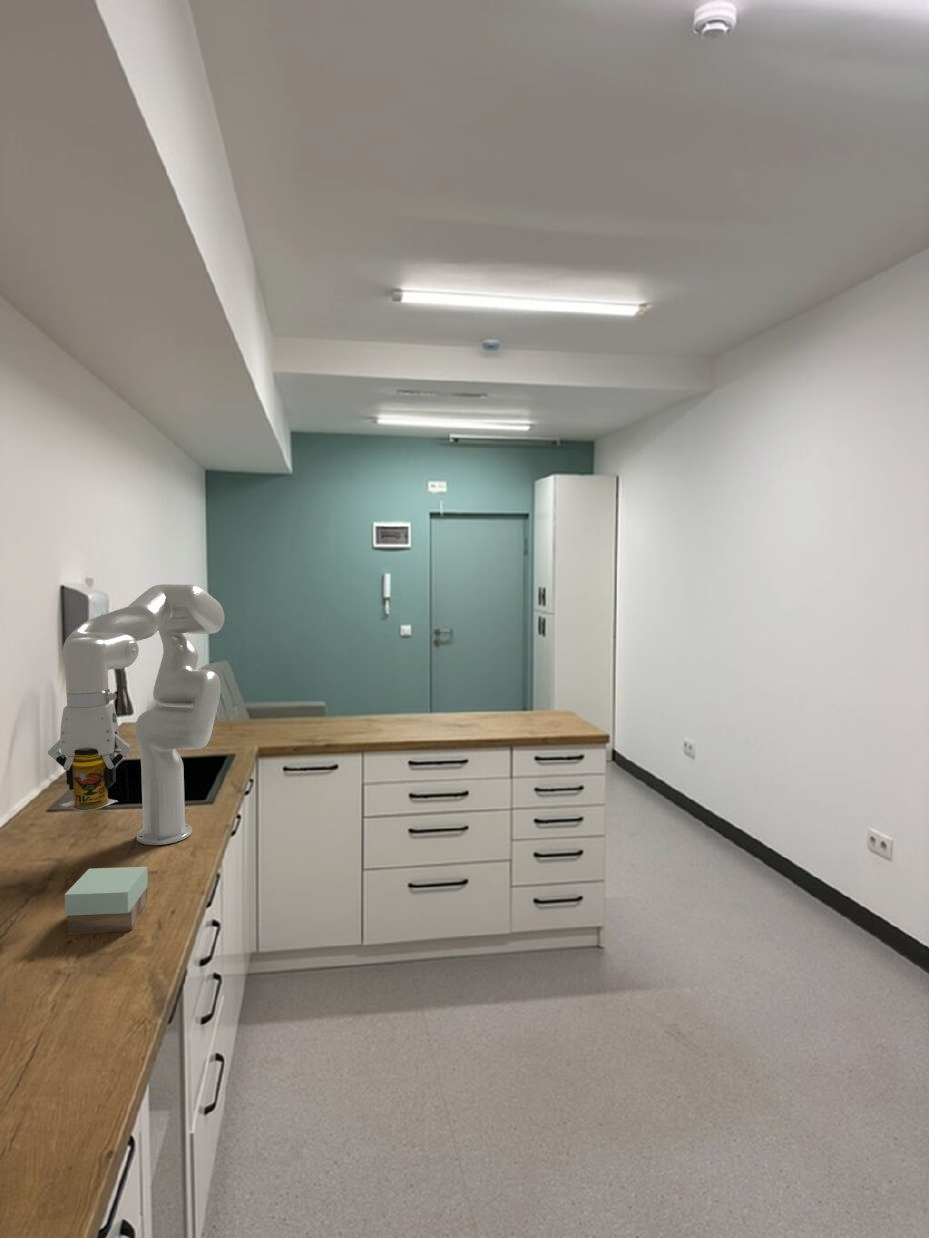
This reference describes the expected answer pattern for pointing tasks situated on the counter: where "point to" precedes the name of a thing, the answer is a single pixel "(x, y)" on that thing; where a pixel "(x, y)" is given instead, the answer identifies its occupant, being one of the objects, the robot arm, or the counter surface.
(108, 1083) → the counter surface
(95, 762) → the condiment
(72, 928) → the bottom block
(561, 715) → the counter surface
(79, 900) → the top block
